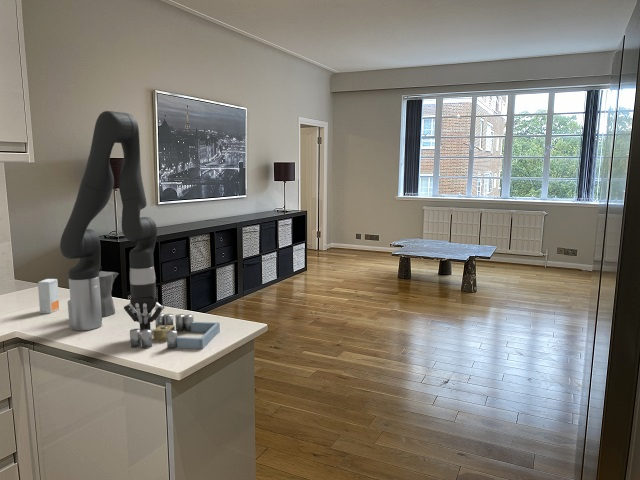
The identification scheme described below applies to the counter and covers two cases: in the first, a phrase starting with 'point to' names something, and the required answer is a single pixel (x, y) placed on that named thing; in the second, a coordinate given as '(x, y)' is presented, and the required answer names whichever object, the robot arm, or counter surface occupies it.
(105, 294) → the coffeepot
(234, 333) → the counter surface
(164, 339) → the yellow knobbed block
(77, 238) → the robot arm
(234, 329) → the counter surface
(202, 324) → the parts bay
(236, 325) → the counter surface
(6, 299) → the counter surface
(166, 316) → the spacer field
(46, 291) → the skincare box
